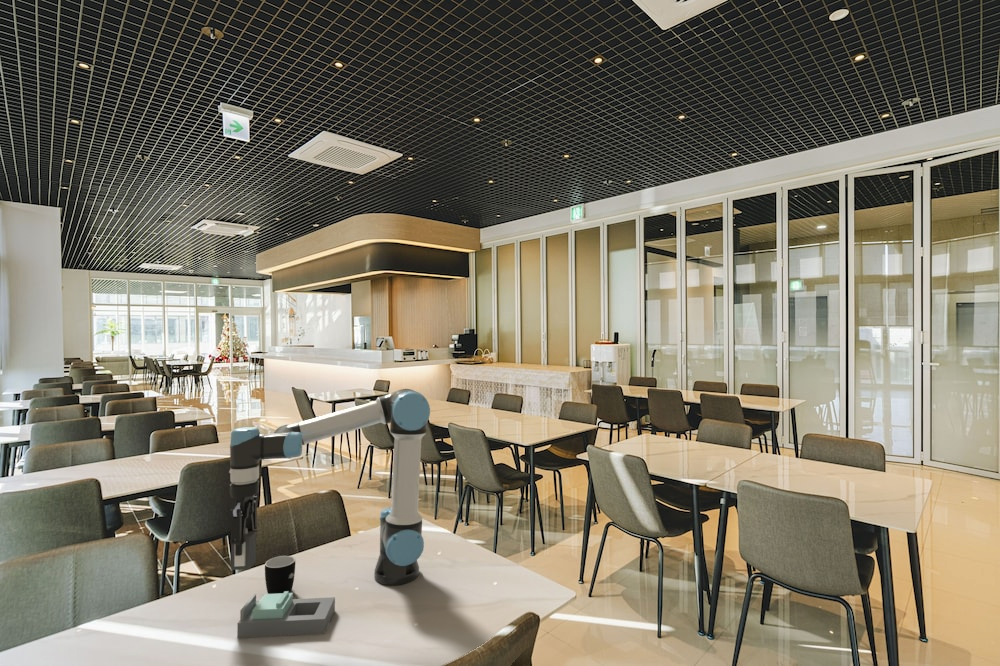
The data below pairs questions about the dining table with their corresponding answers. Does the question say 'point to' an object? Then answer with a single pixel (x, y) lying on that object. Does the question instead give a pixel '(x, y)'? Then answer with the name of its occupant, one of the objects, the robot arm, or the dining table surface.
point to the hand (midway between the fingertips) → (244, 561)
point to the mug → (279, 574)
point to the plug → (246, 551)
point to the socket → (288, 619)
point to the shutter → (273, 605)
